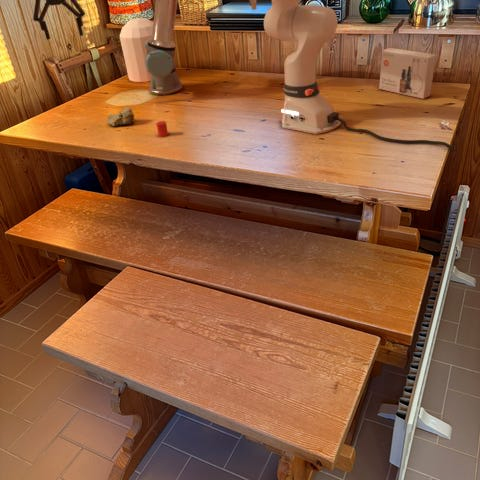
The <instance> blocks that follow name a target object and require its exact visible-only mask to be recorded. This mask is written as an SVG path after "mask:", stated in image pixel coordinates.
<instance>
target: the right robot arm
mask: <svg viewBox="0 0 480 480" xmlns="http://www.w3.org/2000/svg"><path fill="white" fill-rule="evenodd" d="M257 2H258V0H249V6H250V7H251V10H252V11H255V10H257ZM301 2H302V0H271V7H270V8H268V10H267V11H266V13H265V15H264V17H263V28H264V32H265V34H266V35H267V37H269V38H271V39H274V40H277V41H281V42H297V50H296V51H294V52H292V53H290V54H288V56H287V57H286V58H285V60H284V62H283V67H284V68H283V70H284V82H283V89H282V90H283V94H284V103H283V109H281V113H282V116H281V120H280V121H281V128H282V129H288V130H292V131H298V132H303V133H309V134H313V135H314V134H315V135H319V134H324V133H328V132H331V131H332V130H335V129H337V128H338V127H339V126H340V125H341V124H342V125H343V128H344V129H345V130H347V131H349V132H356V133H366V134H368V135H370V136H373V137H374V138H376V139H379V140H381V141H386V142H391V143H398V144H428V145H439V146H444V147H446V148H447V149H448V150H449V151H450V152H451V153H453V152H455V149H454V148H453V146H452V145H451V144H450V143H447V142H445V141H439V140H429V139H411V140H410V139H397V138H390V137H385V136H382V135H378V134H376V133H375V132H373V131H371V130H368V129H366V128H365V129H364V128H352V127H349V126H348V125H347V122H346V121H345V120H344V119H342V118H340V117H339V116H340V113H339V112H337V111H335V110H334V109H335V108H334V106H333V105H332V104H331V103H330V102H329V101H328V100H327V99H326V98H325V97H324V96H323V95H322V94H321V93H320V90H321V89H322V86H323V85H322V84H320V85H319V84H318V81H317V63H318V57H319V54H320V52H321V50H322V48H323V47H324V46H325V44H326V43H327V42H329V41H330V40H331V39H332V38H333V37H334V35H335V34H336V32H337V29H338V17H337V16H338V15H337V14H336V12H335V11H334V9H333V8H331V7H327V6H324V5H318V4H317V5H311V4H310V5H309V4H307V5H306V4H305V5H304V4H300V3H301ZM453 201H454V197H453V198H451V199H450V200H448V205H447V209H446V214H445V218H444V222H443V227H442V231H441V236H440V241H439V248H440V249H442V248H443V247H444V241H445V236H446V232H447V227H448V223H449V218H450V214H451V209H452V206H453Z"/></svg>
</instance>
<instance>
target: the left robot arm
mask: <svg viewBox="0 0 480 480" xmlns="http://www.w3.org/2000/svg"><path fill="white" fill-rule="evenodd" d="M70 2H71V3H72V5H73V6H72V5H71V4H70V3H69V2H68V1H66V0H45V2H44V5H43V8H42V10H41V13H40V7H41V0H35V3H34V8H33V9H34V11H33V15H32V17H33V18H32V20H33V21H34V22H38V24H39V26H40V29H41V31H42V32H44V35H45V38H46V40H51V36H50V32H49V29H48V26H47V23H46V20H44V19H45V17H46V14H47V12H48V11H49V7H50V6H51V7H52V6H60V5H62V6H63V7H65V8H66V9H67V10H69V12H71V13H72V14H73V15H74V16H75V17H76V18H75V21H76V25H77V28H78V32H79V36H80V37H82V36H84V32H83V26H84V21H83V18H82V17H84V16H85V15H86V12H85V11H84V9H83V7H82V6H81V5H80V4H79V3H78V1H77V0H70ZM178 2H179V0H155V3H154V14H153V22H154V23H153V32H152V37H151V38H150V39H149V40H147V41H146V42H145V45H146V46H145V47H146V51H147V54H146V59H145V65H146V68H147V70H148V72H149V73H150V74H151V81H149V92H150V94H151V95H155V96H167V95H172V94H176V93H179V92H180V91H182V90H183V84H182V82H181V80H180V77H179V76H178V74H177V71H176V70H177V69H176V63H175V52H176V44H175V43H174V41H173V40H174V32H175V25H176V24H175V23H176V17H177V9H178ZM74 7H75V8H74Z"/></svg>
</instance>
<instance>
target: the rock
mask: <svg viewBox="0 0 480 480" xmlns="http://www.w3.org/2000/svg"><path fill="white" fill-rule="evenodd" d="M134 121H135V114H134V113H133V110H132V108H131V107H128V106H127V107H125V108H123V109H121V110H119V113H117V114H108V115H107V123H108V125H109V126H110V127H118V126H119V127H120V126H126V125H131V124H132V123H134Z"/></svg>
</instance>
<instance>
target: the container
mask: <svg viewBox="0 0 480 480" xmlns="http://www.w3.org/2000/svg"><path fill="white" fill-rule="evenodd" d="M153 23H154V21H152V20H150V19H148V18H144V17H136V18H132V19H129V20H128V21H127V22H126V23H125V24H124V25H123V26H122V28H121V31H120V33H119V41H120V45H121V49H122V54H123V59H124V63H125V68H126V72H127V77H128V80H129V81H130V82H134V83H144V82H150V81H151V74H150V73H149V72H148V70H147V68H146V65H145V59H146V54H147V51H146V47H145V46H146V45H145V42H146V41H147V40H149V39H150V38H151V37H152V32H153Z"/></svg>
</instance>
